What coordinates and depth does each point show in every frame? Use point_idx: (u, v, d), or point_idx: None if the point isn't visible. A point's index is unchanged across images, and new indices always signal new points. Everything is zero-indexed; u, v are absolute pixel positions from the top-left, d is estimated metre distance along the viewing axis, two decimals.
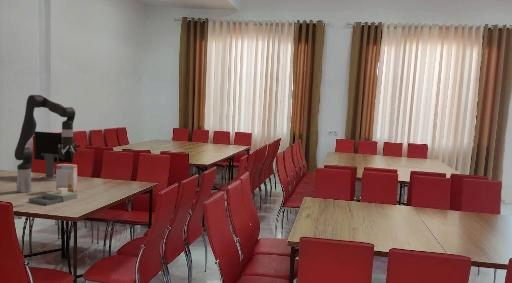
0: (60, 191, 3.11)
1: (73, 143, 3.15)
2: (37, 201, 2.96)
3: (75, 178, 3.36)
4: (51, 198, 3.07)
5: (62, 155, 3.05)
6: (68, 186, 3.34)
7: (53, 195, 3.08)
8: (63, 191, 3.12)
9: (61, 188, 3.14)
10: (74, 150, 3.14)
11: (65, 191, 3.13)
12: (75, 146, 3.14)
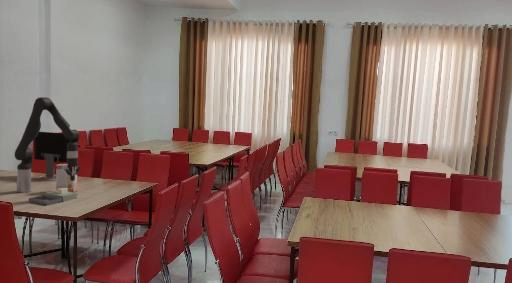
0: (60, 191, 3.11)
1: (77, 166, 3.26)
2: (37, 201, 2.96)
3: (75, 178, 3.36)
4: (51, 198, 3.07)
5: (72, 177, 3.20)
6: (68, 186, 3.34)
7: (53, 195, 3.08)
8: (63, 191, 3.12)
9: (61, 188, 3.14)
10: (75, 173, 3.22)
11: (65, 191, 3.13)
12: (78, 169, 3.24)
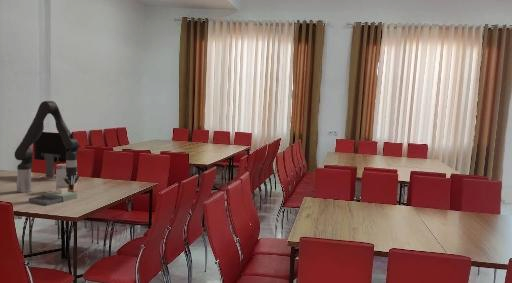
0: (60, 191, 3.11)
1: (76, 175, 3.26)
2: (37, 201, 2.96)
3: None
4: (51, 198, 3.07)
5: (71, 186, 3.20)
6: (68, 186, 3.34)
7: (53, 195, 3.08)
8: (63, 191, 3.12)
9: (61, 188, 3.14)
10: (73, 182, 3.22)
11: (65, 191, 3.13)
12: (77, 178, 3.24)
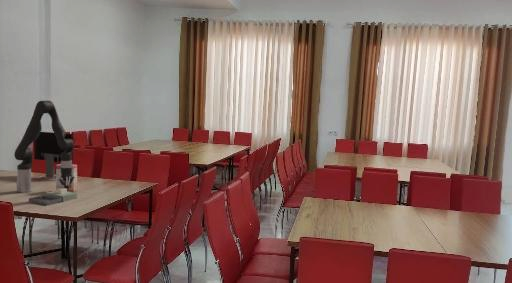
0: (59, 191, 3.11)
1: (72, 176, 3.22)
2: (37, 201, 2.96)
3: (75, 178, 3.36)
4: (51, 198, 3.07)
5: (66, 187, 3.16)
6: None
7: (53, 195, 3.08)
8: (62, 191, 3.11)
9: (60, 188, 3.14)
10: (69, 182, 3.18)
11: (64, 191, 3.13)
12: (72, 179, 3.20)
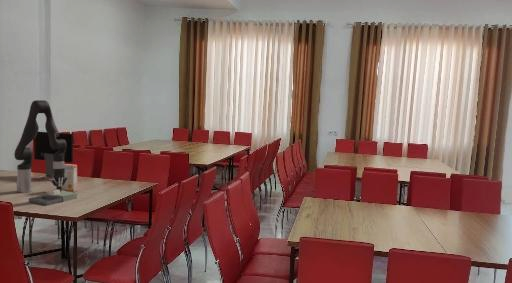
0: (52, 193, 3.05)
1: (64, 177, 3.16)
2: (37, 201, 2.96)
3: (75, 178, 3.36)
4: (51, 198, 3.07)
5: (58, 188, 3.10)
6: (68, 186, 3.34)
7: None
8: (55, 193, 3.06)
9: (53, 190, 3.08)
10: (61, 183, 3.12)
11: (57, 193, 3.07)
12: (65, 180, 3.14)
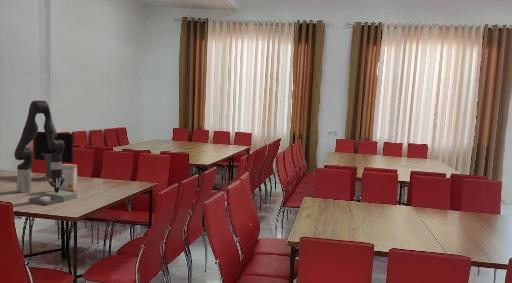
0: None
1: (62, 178, 3.14)
2: (37, 201, 2.96)
3: (75, 178, 3.36)
4: (51, 198, 3.07)
5: (56, 189, 3.08)
6: (68, 186, 3.34)
7: (53, 195, 3.08)
8: (48, 199, 3.01)
9: None
10: None
11: (46, 199, 2.99)
12: (62, 180, 3.12)
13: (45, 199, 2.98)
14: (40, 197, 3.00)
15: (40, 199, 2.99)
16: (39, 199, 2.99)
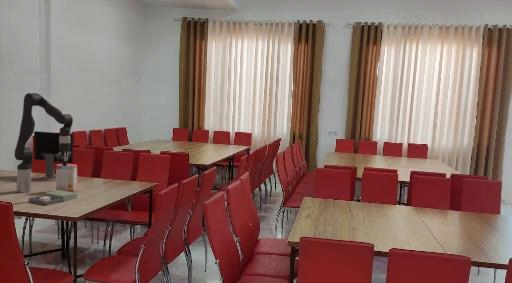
0: None
1: (70, 152, 3.21)
2: (37, 201, 2.96)
3: (75, 178, 3.36)
4: (51, 198, 3.07)
5: (64, 162, 3.15)
6: (68, 186, 3.34)
7: (53, 195, 3.08)
8: (48, 199, 3.01)
9: None
10: None
11: (46, 199, 2.99)
12: (70, 154, 3.19)
13: (45, 199, 2.98)
14: (40, 197, 3.00)
15: (40, 199, 2.99)
16: (39, 199, 2.99)
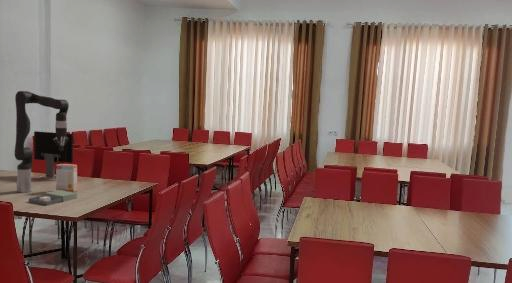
0: None
1: None
2: (37, 201, 2.96)
3: (75, 178, 3.36)
4: (51, 198, 3.07)
5: (60, 147, 3.19)
6: (68, 186, 3.34)
7: (53, 195, 3.08)
8: (48, 199, 3.01)
9: None
10: None
11: (46, 199, 2.99)
12: (67, 140, 3.23)
13: (45, 199, 2.98)
14: (40, 197, 3.00)
15: (40, 199, 2.99)
16: (39, 199, 2.99)
